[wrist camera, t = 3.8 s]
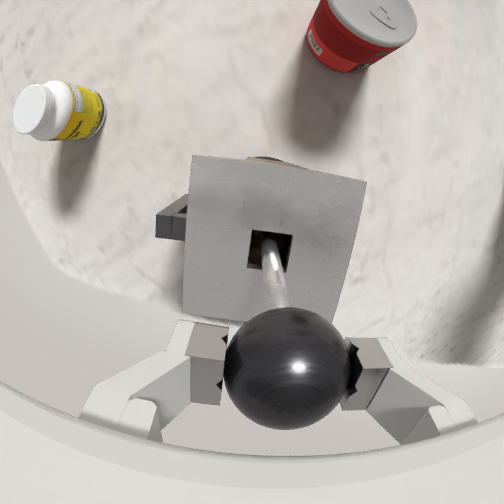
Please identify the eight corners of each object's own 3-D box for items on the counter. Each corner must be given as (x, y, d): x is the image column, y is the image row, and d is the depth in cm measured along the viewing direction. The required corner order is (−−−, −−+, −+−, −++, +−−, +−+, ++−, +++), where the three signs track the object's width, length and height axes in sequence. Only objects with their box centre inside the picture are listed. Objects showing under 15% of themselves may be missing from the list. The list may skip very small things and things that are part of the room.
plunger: (317, 190, 21) (467, 305, 5) (301, 273, 23) (363, 467, 7) (226, 177, 21) (138, 271, 5) (217, 263, 23) (163, 461, 7)
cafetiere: (316, 165, 29) (370, 179, 15) (300, 255, 33) (331, 331, 19) (197, 149, 29) (148, 148, 15) (188, 241, 32) (145, 309, 18)
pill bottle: (71, 147, 28) (11, 153, 18) (64, 103, 26) (5, 96, 16) (112, 129, 28) (54, 125, 17) (104, 82, 26) (48, 64, 15)
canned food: (356, 87, 26) (402, 63, 16) (292, 51, 25) (311, 7, 15) (380, 41, 24) (427, 8, 13) (321, 6, 23) (347, -42, 12)
